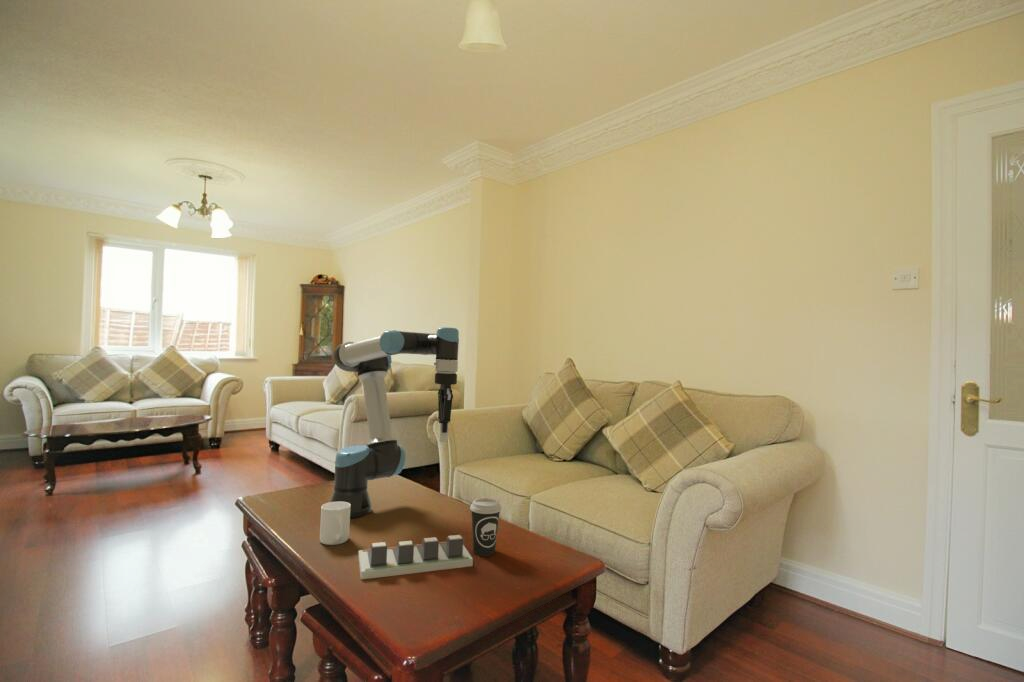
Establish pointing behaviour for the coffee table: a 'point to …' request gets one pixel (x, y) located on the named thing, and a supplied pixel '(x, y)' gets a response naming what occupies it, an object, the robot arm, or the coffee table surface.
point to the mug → (335, 523)
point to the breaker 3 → (430, 548)
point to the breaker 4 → (454, 545)
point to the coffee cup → (485, 525)
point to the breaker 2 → (405, 551)
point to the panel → (411, 567)
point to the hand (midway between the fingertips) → (443, 441)
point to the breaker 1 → (378, 553)
